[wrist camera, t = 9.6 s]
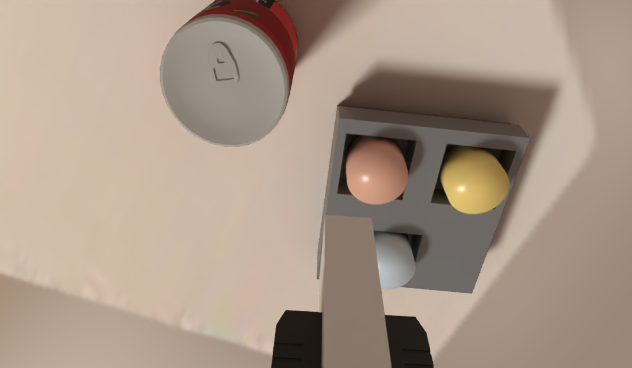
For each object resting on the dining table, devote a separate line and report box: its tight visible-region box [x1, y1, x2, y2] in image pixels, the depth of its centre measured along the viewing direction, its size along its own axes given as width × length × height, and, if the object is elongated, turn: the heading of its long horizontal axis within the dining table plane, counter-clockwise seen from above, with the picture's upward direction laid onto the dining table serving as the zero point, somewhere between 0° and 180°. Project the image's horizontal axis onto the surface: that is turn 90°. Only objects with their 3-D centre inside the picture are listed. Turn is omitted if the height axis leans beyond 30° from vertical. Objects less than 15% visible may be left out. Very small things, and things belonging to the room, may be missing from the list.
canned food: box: [160, 0, 298, 147], centre depth 32 cm, size 8×8×11 cm
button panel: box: [317, 105, 530, 293], centre depth 41 cm, size 16×15×4 cm
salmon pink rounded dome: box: [345, 135, 408, 205], centre depth 37 cm, size 5×5×4 cm
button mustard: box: [438, 145, 509, 214], centre depth 38 cm, size 5×5×4 cm
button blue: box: [373, 230, 416, 290], centre depth 42 cm, size 5×5×4 cm
